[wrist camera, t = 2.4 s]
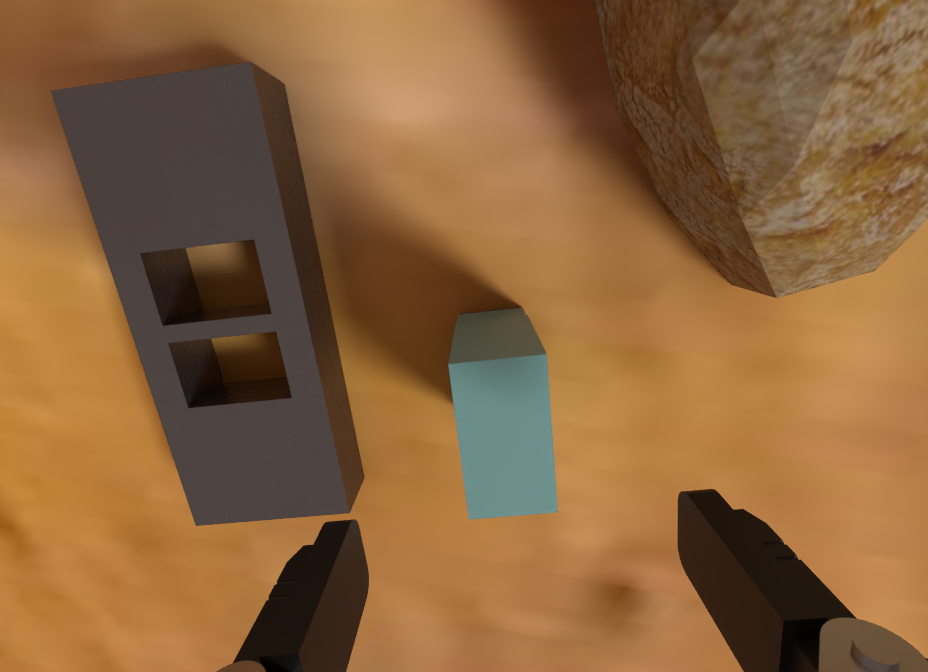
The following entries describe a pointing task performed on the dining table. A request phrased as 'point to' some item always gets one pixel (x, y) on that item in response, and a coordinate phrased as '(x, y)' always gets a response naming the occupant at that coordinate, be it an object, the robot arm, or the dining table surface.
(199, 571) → the dining table surface
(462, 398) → the teal block
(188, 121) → the rail
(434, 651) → the dining table surface
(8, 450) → the dining table surface
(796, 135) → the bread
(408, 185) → the dining table surface
